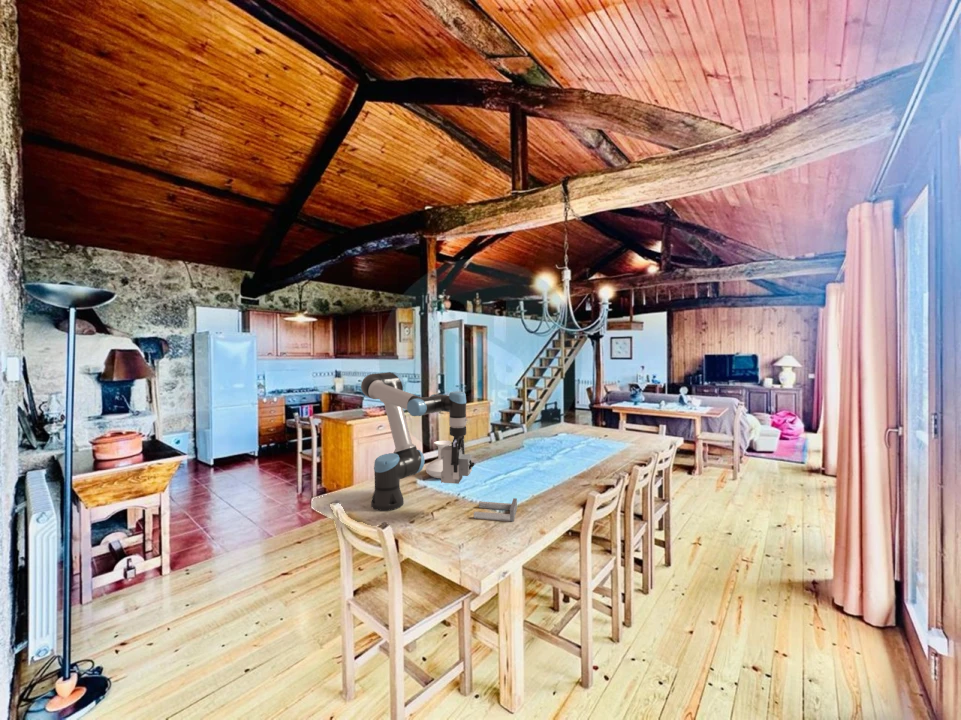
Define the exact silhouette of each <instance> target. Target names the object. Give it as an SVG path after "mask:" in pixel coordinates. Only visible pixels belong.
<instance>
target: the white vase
mask: <svg viewBox="0 0 961 720" xmlns="http://www.w3.org/2000/svg"><path fill="white" fill-rule="evenodd" d="M451 443H452V441H450V440H444V439H443V440H437V441H434V442H433V444H434V445H435V446H437V453H438V454H437V456H438V457H437V458H436V459H434V460H432V461H431V462H429V463H428V464H427V465H426V466H425V472H426V473H427V475H429V476H430V477H432V478H435V479H441V472H442V471H443V459H441V449H442V448H444V447H445V446H448V445H449V446H451V445H452V444H451Z"/></svg>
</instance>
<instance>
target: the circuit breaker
mask: <svg viewBox="0 0 961 720" xmlns="http://www.w3.org/2000/svg"><path fill="white" fill-rule="evenodd" d="M458 448H459V447H458ZM461 449H462V447H461ZM461 449H460V450H459V462H458V465H459V480H457V479H453V465H451V456H452V445H448V446H445V447H444V448H442V449H441V459H443V471H442V472H441V478H440V483H441V484H442V483H444V484H453V485H455V484H456V485H457V484H458V485H459V484H460V482H461V481H462V480H463V477H469V476H470V475H471V473H472V471H473V468H474V466H475V462H473V455H472V454H468V453H467V454H466V453H465V454H462V450H461Z"/></svg>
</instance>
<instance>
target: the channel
mask: <svg viewBox="0 0 961 720" xmlns="http://www.w3.org/2000/svg"><path fill="white" fill-rule="evenodd" d="M517 499H518V498H516V497H513V499H512V502H511V503H509V502H495V501H494V502H493V501H492V502H490V501H479V503H478V508H479V509H490V510H491V509H492V510H503V509H507V510H506V511H509V513H499V512H485V511H473V519H476V520H477V519H478V520H487V521H488V520H489V521H503V522H514V521H515V517H516V514H517V509H518V500H517Z"/></svg>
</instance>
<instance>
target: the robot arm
mask: <svg viewBox="0 0 961 720" xmlns="http://www.w3.org/2000/svg"><path fill="white" fill-rule="evenodd" d="M360 387H361V392H362V393H363V394H364V396H366V397H367V398H369V399H372V400H380V402H382V403H383V404H384V409H385V411H386V412H385V413H386V416H387V419H388V423H389V427H390V431H391V436H392V441H393V443H394V448H395V449H394V450H393V453H392V452H391V453H384V454H381V455H378V457H377V458H376V459H375V460H374V462H373V463H374V466H373V471H374V472H373V473H374V492H373V495H372V498H371V501H370V503H371V504H370V505H371V509H373V510H375V511H380V512H381V511H383V512H386V511H394V510H397V509H398V508H399V509H400V508H401V507H402V506H403V505H404V502H405V501H404V495H403V493H402V491H401V488H400V487H401V486H400V485H401V484H400V481H401V480H403V479H405V478H408V477H411V476H415V475H417V474H418V473H420V472H421V471H422V470H423V467H425V455H424V453H423V452H422V451H421V450H420V449H418V448H417V446H416V445H415V444H414V443H413V441H412V438H411V434H410V430H409V427H408V423H407V419H406V415H405V411H404V410H406V411H407V412H408V413H409V415H410V416H412V417H421V416H425V415H429V414H434V413H439V412H445V413H448V414H449V415H448V417H449V426H450V427H449V435H450V436H452V437H453V439H452V441H451V444H450V445H451V446H452V456H451V465H453V479H457V480H459V465H458V462H459V450H460V449H461V447H462V449H461V450H462V454H466V453H465V436H466V435H467V422H468V419H467V396H466V395H467V394H466V393H465V392H464V391H451V392H449V395H448V394H440V393H436V394H432V395H430V396H425V397H424V396H423V397H421V396H419V395H415V394H414V393H411V392H408V391H405V390H404V389H405V388H404V387H405V382H404V378H403V377H402V375H400V373H397V372H395V371H394V372H392V371H388V372H380V373H379V372H378V373H370V374H368V375H366V376H365V377H364V378H363V379H362V381H361V384H360ZM458 447H459V448H458Z"/></svg>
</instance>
